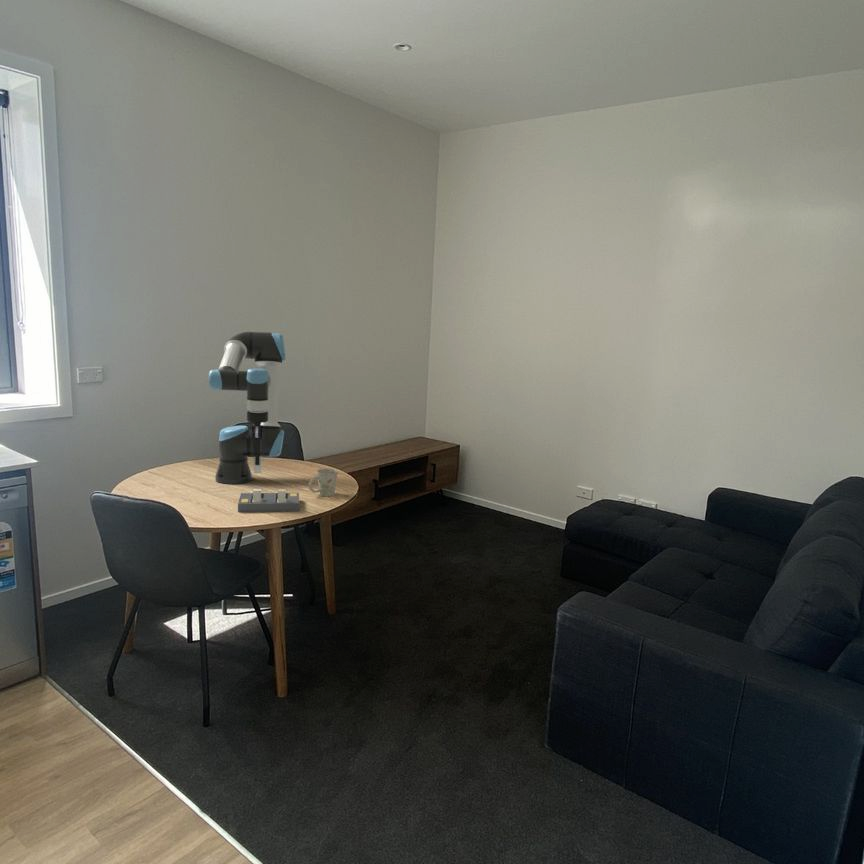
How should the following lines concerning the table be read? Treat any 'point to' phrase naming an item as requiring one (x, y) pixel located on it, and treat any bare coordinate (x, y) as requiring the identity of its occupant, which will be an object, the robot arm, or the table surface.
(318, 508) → the table surface
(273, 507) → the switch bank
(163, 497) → the table surface
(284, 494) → the tab
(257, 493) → the tab
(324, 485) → the mug
